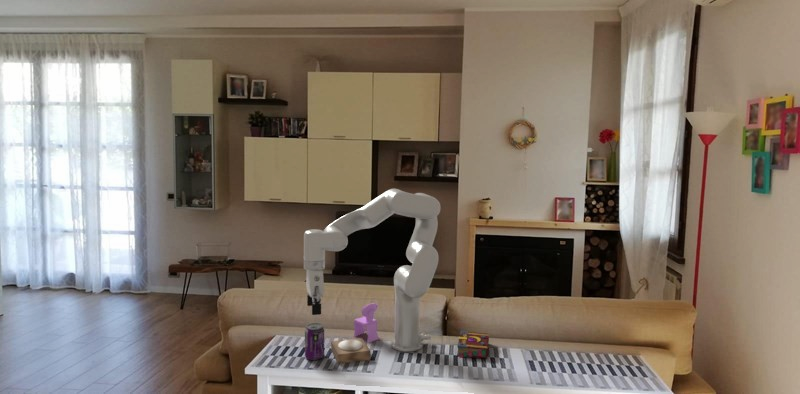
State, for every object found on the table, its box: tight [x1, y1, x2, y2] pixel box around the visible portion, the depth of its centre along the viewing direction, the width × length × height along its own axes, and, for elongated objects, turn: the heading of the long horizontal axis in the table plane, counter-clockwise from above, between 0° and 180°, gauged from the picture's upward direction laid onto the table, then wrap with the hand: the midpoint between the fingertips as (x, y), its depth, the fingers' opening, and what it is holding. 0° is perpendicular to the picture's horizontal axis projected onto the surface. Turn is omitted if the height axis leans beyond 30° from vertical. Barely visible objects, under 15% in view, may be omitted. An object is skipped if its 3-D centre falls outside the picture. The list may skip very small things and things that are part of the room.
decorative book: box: [456, 330, 490, 360], centre depth 207 cm, size 11×16×5 cm
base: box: [330, 337, 371, 365], centre depth 201 cm, size 12×12×4 cm
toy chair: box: [353, 302, 380, 344], centre depth 216 cm, size 8×9×15 cm
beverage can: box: [304, 322, 325, 361], centre depth 198 cm, size 7×7×12 cm
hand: (314, 309), depth 196 cm, fingers open, 9 cm apart
